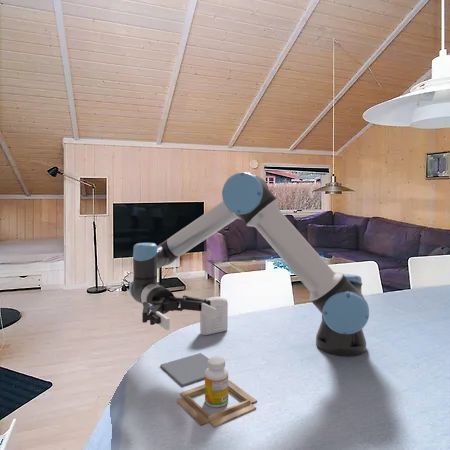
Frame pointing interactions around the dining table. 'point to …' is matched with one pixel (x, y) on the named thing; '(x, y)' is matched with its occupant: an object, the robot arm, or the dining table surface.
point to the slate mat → (187, 369)
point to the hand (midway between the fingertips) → (192, 319)
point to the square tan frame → (218, 417)
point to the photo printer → (217, 324)
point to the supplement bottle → (216, 382)
